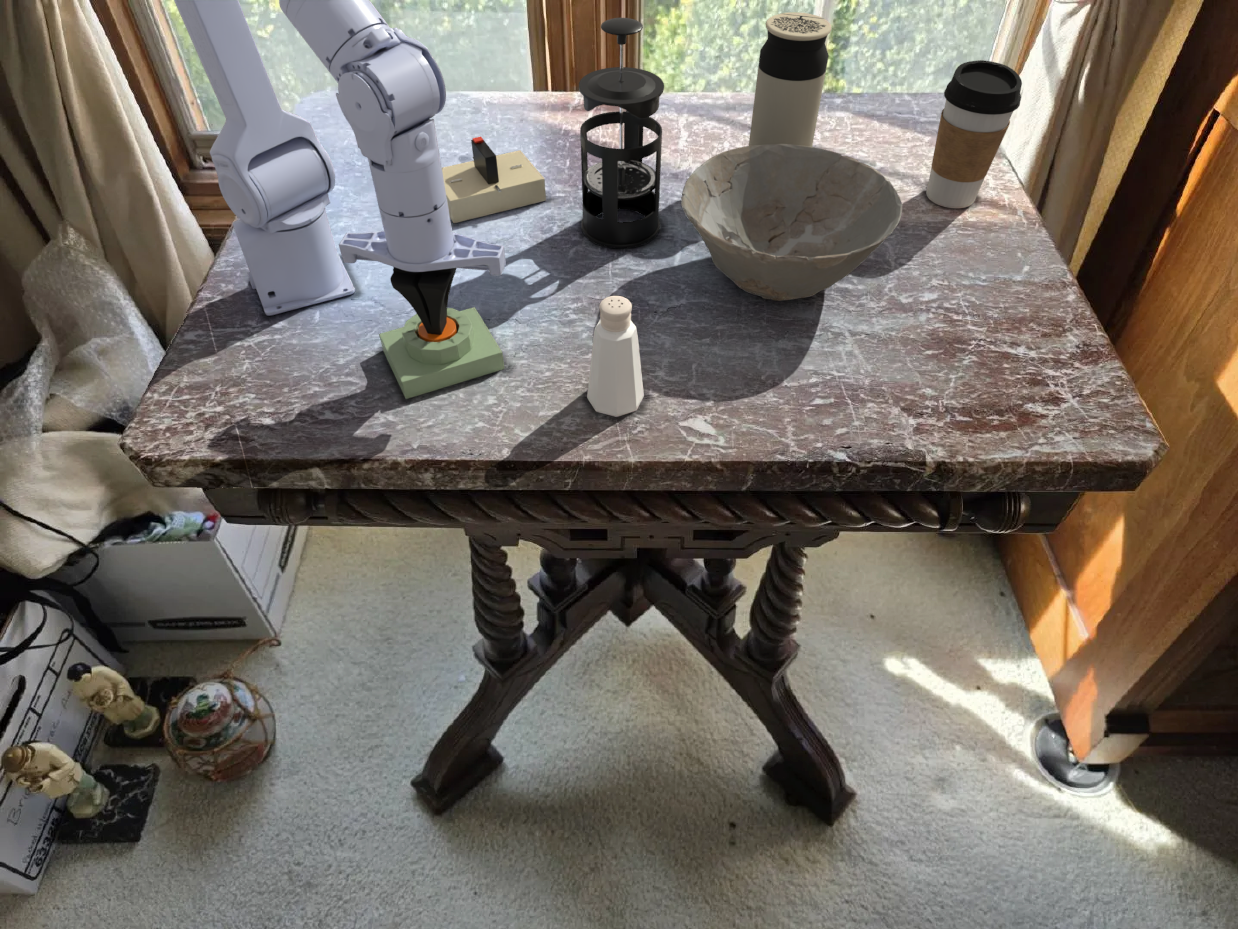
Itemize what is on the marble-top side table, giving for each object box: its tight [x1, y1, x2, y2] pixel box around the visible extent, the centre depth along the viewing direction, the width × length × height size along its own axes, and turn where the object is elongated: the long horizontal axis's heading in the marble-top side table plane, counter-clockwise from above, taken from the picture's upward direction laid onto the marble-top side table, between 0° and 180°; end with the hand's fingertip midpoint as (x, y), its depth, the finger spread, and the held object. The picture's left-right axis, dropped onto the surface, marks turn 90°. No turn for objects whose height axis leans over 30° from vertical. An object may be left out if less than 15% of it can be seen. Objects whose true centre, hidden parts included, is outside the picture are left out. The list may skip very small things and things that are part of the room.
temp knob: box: [470, 136, 499, 184], centre depth 102 cm, size 5×1×4 cm, turn 26°
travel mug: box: [748, 11, 832, 147], centre depth 104 cm, size 8×8×18 cm
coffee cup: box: [925, 59, 1023, 209], centre depth 101 cm, size 8×8×15 cm
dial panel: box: [442, 149, 547, 224], centre depth 105 cm, size 12×9×3 cm
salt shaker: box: [586, 295, 645, 418], centre depth 77 cm, size 5×5×11 cm
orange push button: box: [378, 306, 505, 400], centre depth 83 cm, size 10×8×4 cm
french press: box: [578, 17, 665, 250], centre depth 93 cm, size 12×9×23 cm
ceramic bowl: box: [680, 144, 903, 302], centre depth 91 cm, size 22×23×10 cm
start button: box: [418, 318, 457, 342], centre depth 82 cm, size 4×4×2 cm
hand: (437, 327), depth 81 cm, fingers closed, pressing on start button
